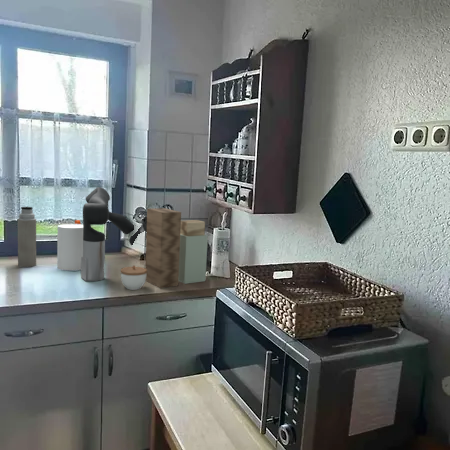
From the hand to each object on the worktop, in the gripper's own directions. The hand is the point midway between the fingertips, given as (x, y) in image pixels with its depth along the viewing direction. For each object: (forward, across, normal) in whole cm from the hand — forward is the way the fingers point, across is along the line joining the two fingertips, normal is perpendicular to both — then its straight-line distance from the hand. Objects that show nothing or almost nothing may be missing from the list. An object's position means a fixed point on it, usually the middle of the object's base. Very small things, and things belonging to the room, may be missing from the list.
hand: (162, 215), depth 224 cm
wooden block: (+15, 0, +15) cm, 21 cm away
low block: (+11, 0, +36) cm, 38 cm away
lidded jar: (+13, -28, +38) cm, 49 cm away
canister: (-25, -40, +16) cm, 50 cm away
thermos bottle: (-34, -58, +10) cm, 68 cm away
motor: (-39, -32, +8) cm, 51 cm away
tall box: (+12, -14, +37) cm, 41 cm away
